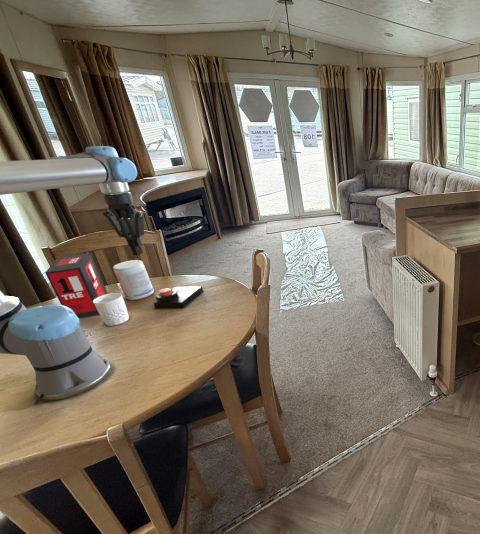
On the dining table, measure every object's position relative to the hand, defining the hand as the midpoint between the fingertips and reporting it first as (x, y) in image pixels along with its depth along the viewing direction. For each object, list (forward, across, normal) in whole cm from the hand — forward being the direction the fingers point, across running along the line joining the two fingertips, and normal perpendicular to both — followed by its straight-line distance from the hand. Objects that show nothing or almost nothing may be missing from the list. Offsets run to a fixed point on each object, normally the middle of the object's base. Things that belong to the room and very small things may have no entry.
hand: (138, 254), depth 129 cm
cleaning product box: (+23, +24, +2) cm, 33 cm away
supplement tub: (+23, +12, -8) cm, 27 cm away
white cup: (+23, +6, +12) cm, 26 cm away
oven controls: (+23, -7, -4) cm, 24 cm away
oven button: (+18, -4, -1) cm, 19 cm away
